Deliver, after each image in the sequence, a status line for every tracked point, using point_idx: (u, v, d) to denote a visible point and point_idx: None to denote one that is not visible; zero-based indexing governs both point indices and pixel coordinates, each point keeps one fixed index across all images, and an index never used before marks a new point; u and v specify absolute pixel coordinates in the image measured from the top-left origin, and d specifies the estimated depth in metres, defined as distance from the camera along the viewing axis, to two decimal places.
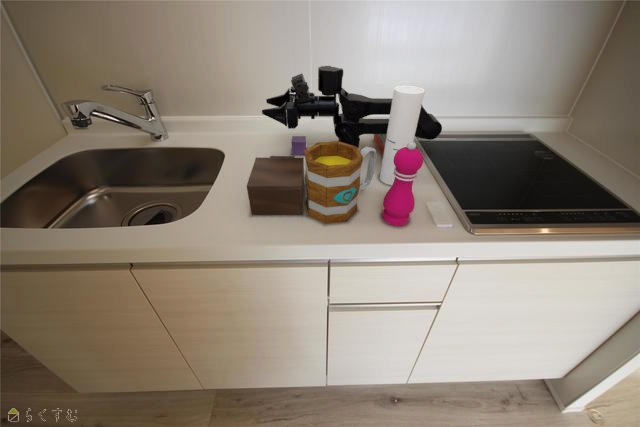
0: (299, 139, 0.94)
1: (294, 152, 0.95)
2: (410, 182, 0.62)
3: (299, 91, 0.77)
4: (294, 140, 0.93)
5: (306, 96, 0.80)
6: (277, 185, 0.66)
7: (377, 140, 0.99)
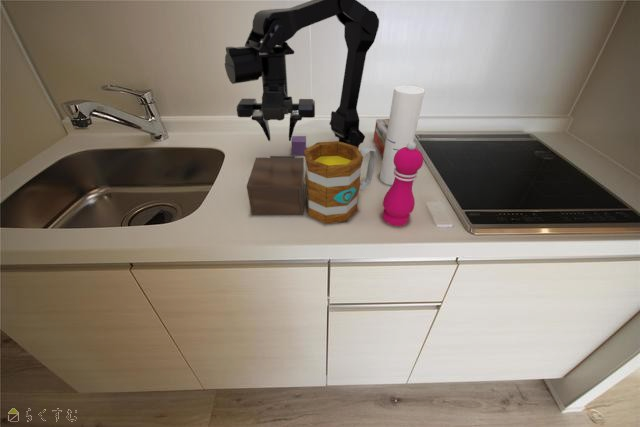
0: (299, 139, 0.94)
1: (294, 152, 0.95)
2: (410, 182, 0.62)
3: (292, 107, 0.65)
4: (294, 140, 0.93)
5: None
6: (277, 185, 0.66)
7: (377, 140, 0.99)
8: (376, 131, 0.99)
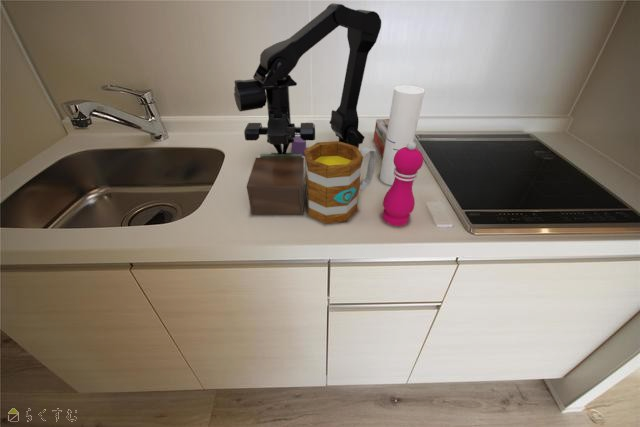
0: (299, 139, 0.94)
1: (294, 152, 0.95)
2: (410, 182, 0.62)
3: None
4: (294, 140, 0.93)
5: (287, 122, 0.73)
6: (277, 185, 0.66)
7: (377, 140, 0.99)
8: (376, 131, 0.99)
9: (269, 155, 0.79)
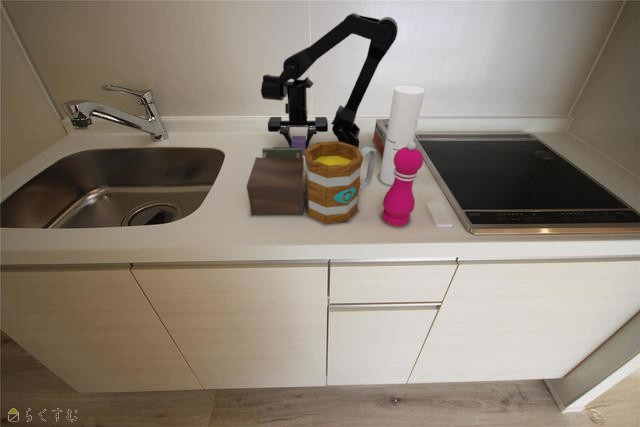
0: (299, 139, 0.94)
1: None
2: (410, 182, 0.62)
3: (285, 111, 0.94)
4: (294, 140, 0.93)
5: None
6: (277, 185, 0.66)
7: (377, 140, 0.99)
8: (376, 131, 0.99)
9: (271, 149, 0.82)
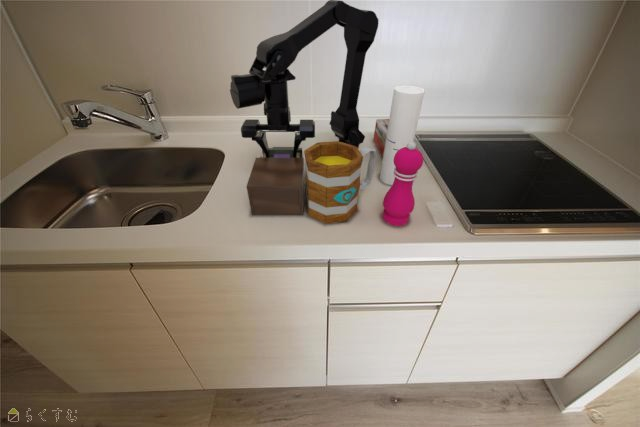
0: None
1: None
2: (410, 182, 0.62)
3: None
4: None
5: None
6: (277, 185, 0.66)
7: (377, 140, 0.99)
8: (376, 131, 0.99)
9: (271, 149, 0.82)
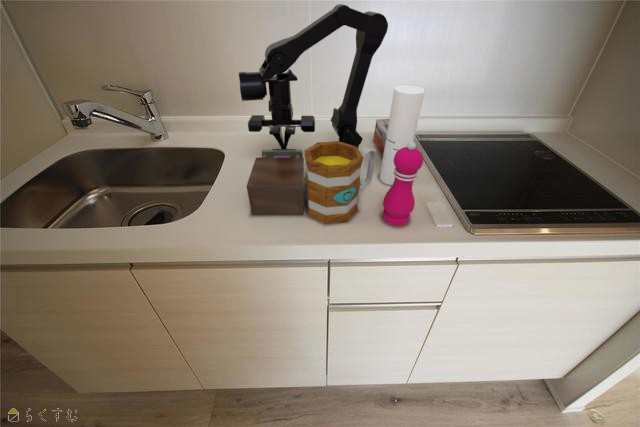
0: None
1: None
2: (410, 182, 0.62)
3: (269, 109, 0.85)
4: None
5: None
6: (277, 185, 0.66)
7: (377, 140, 0.99)
8: (376, 131, 0.99)
9: (270, 151, 0.81)
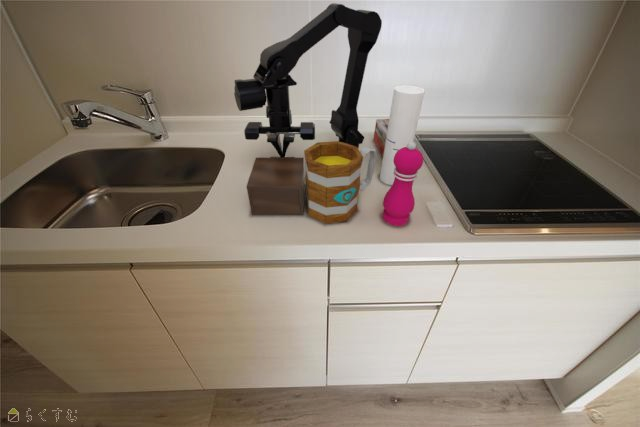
0: None
1: None
2: (410, 182, 0.62)
3: None
4: None
5: None
6: (277, 185, 0.66)
7: (377, 140, 0.99)
8: (376, 131, 0.99)
9: None
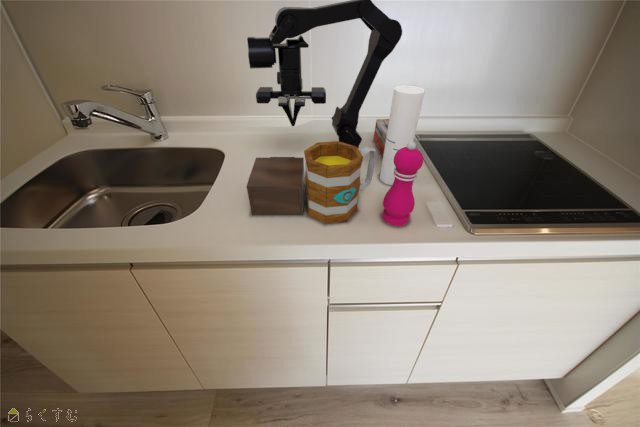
0: None
1: None
2: (410, 182, 0.62)
3: None
4: None
5: None
6: (277, 185, 0.66)
7: (377, 140, 0.99)
8: (376, 131, 0.99)
9: None
